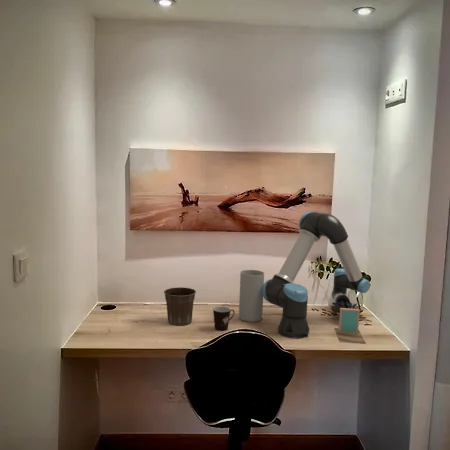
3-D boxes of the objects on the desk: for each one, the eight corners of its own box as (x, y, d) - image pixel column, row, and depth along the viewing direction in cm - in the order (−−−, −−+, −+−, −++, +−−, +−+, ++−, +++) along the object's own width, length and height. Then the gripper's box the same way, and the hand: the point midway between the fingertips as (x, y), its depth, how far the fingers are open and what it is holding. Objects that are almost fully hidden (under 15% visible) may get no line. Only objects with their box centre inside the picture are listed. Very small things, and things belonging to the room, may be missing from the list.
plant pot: (157, 323, 230) (157, 292, 228) (175, 314, 244) (175, 285, 242) (184, 329, 222) (184, 297, 220) (201, 320, 237) (201, 290, 234)
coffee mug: (214, 332, 220) (214, 312, 219) (211, 326, 228) (211, 306, 227) (237, 331, 222) (238, 311, 221) (233, 325, 231) (234, 306, 229)
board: (333, 329, 229) (334, 327, 228) (358, 331, 227) (358, 329, 227) (339, 344, 210) (339, 341, 210) (365, 346, 209) (366, 343, 208)
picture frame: (338, 331, 223) (340, 307, 222) (357, 332, 222) (359, 309, 221) (339, 332, 221) (340, 309, 220) (358, 334, 220) (359, 310, 219)
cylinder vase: (253, 324, 233) (255, 276, 230) (234, 318, 241) (235, 272, 237) (266, 318, 243) (268, 272, 240) (247, 313, 251) (249, 268, 247)
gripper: (353, 308, 248) (362, 323, 224) (329, 307, 249) (335, 321, 226) (354, 295, 247) (363, 308, 223) (330, 294, 248) (336, 307, 225)
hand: (349, 315), depth 225 cm, fingers closed
